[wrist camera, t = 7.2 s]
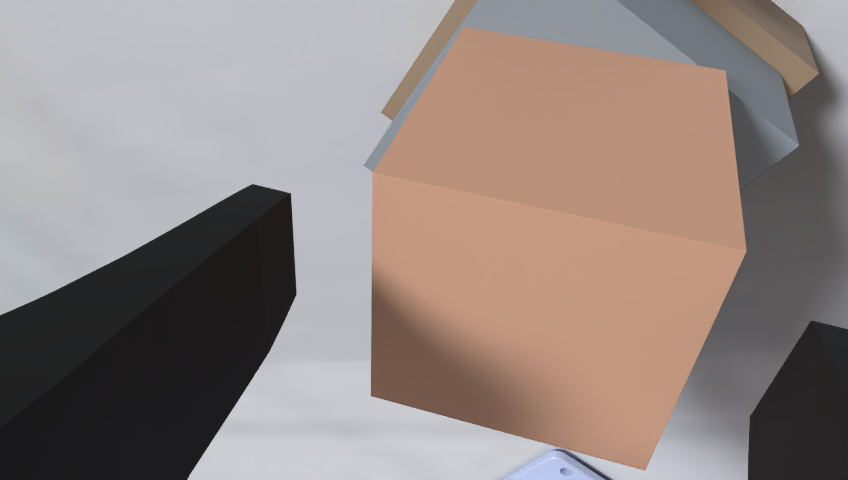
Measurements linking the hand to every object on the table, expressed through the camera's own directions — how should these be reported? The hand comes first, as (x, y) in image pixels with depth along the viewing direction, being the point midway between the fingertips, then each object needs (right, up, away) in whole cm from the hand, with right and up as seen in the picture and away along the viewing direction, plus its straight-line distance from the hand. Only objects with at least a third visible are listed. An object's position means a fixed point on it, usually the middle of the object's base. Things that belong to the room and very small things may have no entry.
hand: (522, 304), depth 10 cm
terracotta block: (+1, +3, +4) cm, 5 cm away
